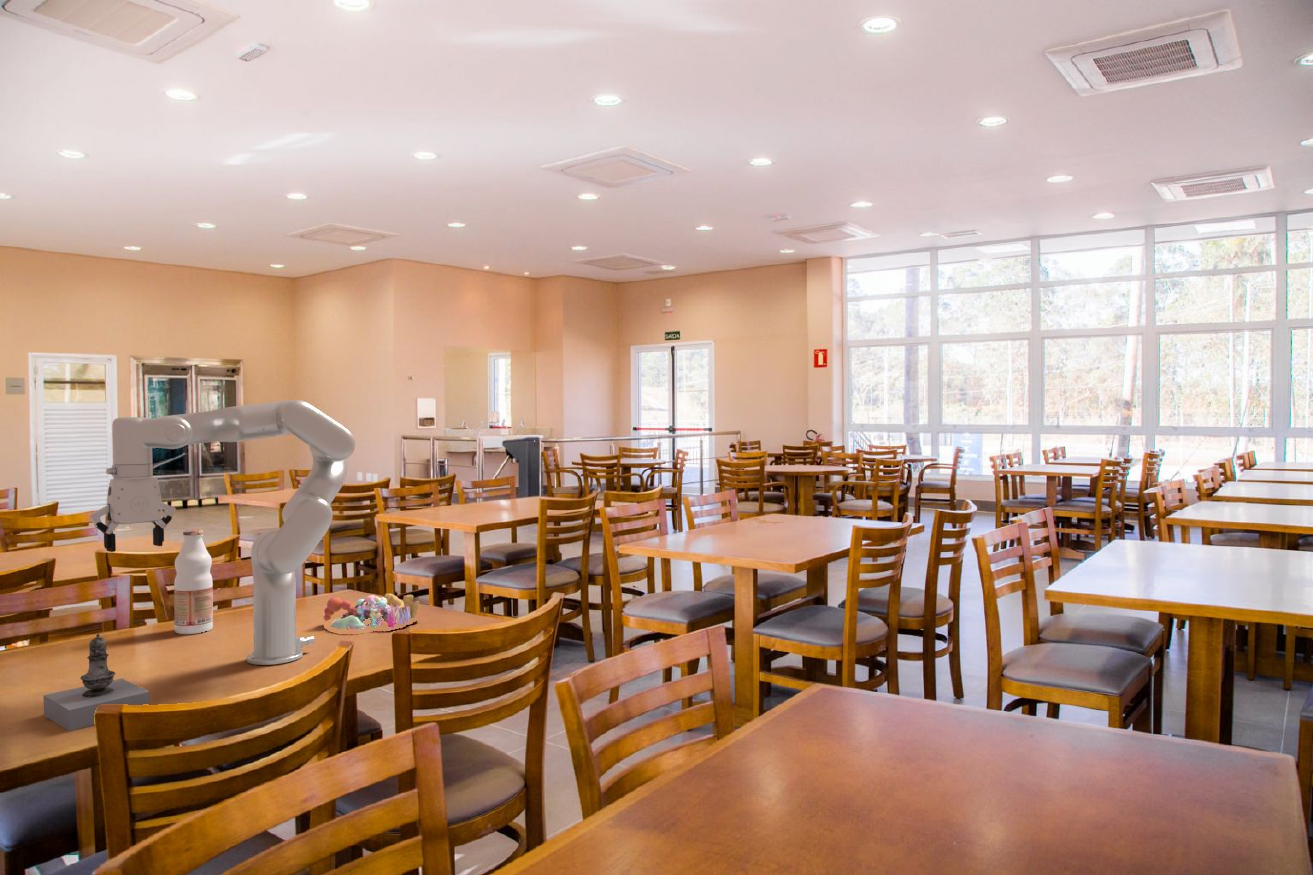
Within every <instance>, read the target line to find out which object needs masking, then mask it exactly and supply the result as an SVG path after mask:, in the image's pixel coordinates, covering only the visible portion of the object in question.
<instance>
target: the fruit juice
mask: <svg viewBox="0 0 1313 875" xmlns="http://www.w3.org/2000/svg"><path fill="white" fill-rule="evenodd" d="M182 535H183V538H184V539H183V542H182V545H181V547H180V550H179V553H178V554H177V556H176V558H175V559H174V568H175V571H176V575H175V577H174V582H173V583H174V584H173V589H174V590H173V594H174V595H173V598H174V599H173V602H174V603H173V607H174V609H173V610H174V612H173V613H174V620H173V621H174V633H175V634H177V633H178V635H194V634H195V635H196V634H201V632H203V633H206V632H205V631H207V632H210V631H211V630H213V626H214V614H213V612H214V607H213V606H214V604H213V603H214V599H213V597H214V596H213V595H214V594H213V592H214V587H213V586H214V584H213V582H214V581H213V576H212V574H211V568H212V564H213V560H212V556H211V555H210V552H209V551H208V548H206V544H205V542H204V539H203V536H204V530H203V529H186V530H183V533H182Z"/></svg>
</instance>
